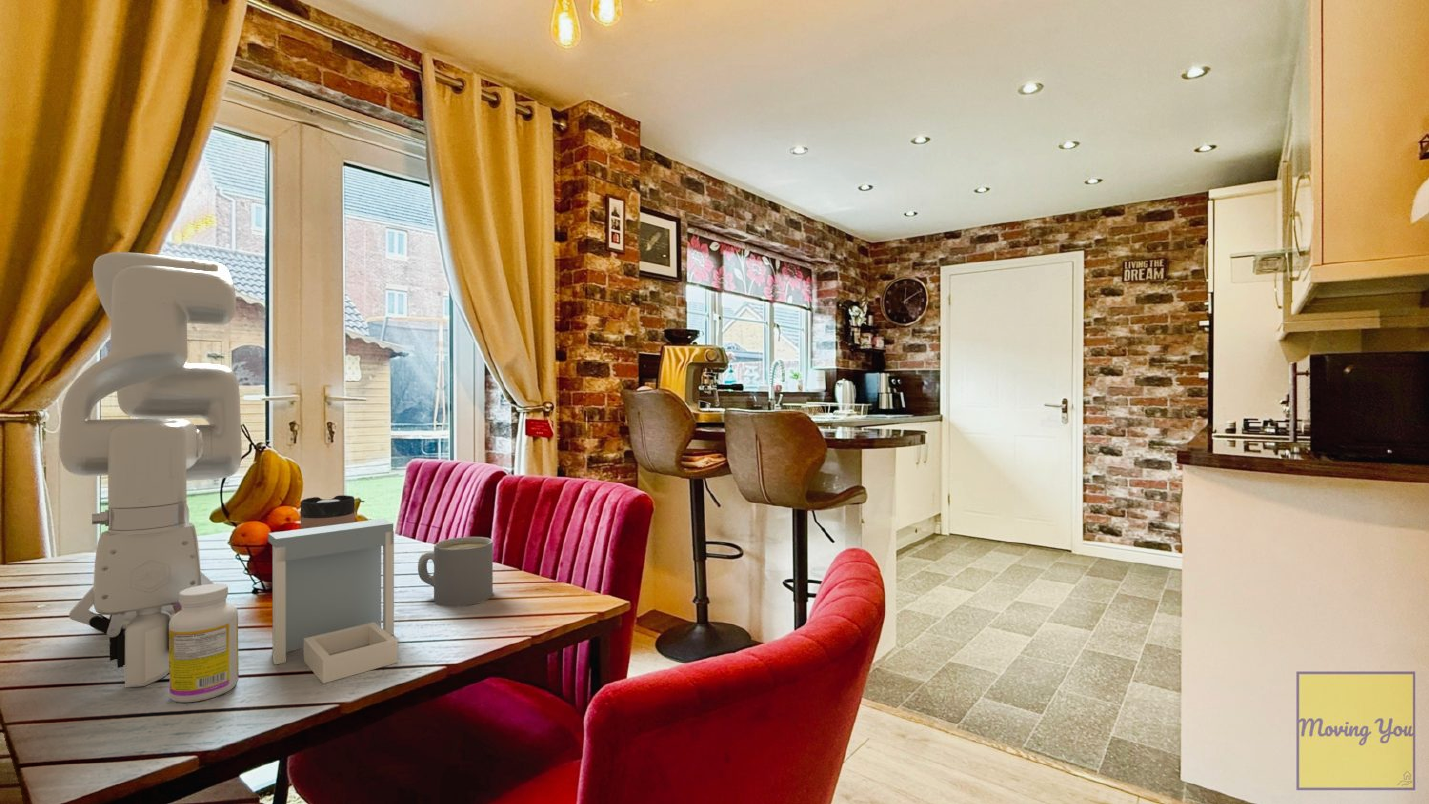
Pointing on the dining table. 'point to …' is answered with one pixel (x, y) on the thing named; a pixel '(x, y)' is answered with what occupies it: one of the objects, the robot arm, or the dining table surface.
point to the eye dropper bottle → (147, 647)
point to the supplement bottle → (203, 644)
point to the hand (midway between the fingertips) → (149, 656)
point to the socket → (350, 651)
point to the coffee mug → (460, 571)
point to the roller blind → (330, 581)
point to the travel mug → (327, 511)
